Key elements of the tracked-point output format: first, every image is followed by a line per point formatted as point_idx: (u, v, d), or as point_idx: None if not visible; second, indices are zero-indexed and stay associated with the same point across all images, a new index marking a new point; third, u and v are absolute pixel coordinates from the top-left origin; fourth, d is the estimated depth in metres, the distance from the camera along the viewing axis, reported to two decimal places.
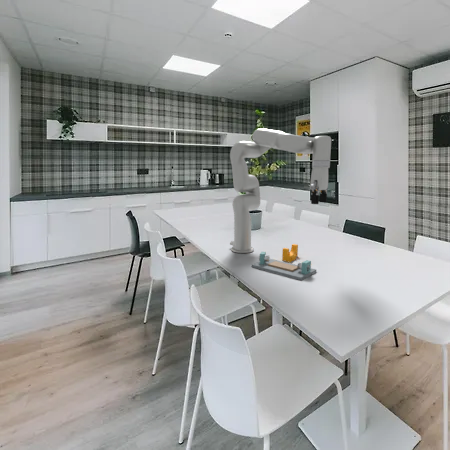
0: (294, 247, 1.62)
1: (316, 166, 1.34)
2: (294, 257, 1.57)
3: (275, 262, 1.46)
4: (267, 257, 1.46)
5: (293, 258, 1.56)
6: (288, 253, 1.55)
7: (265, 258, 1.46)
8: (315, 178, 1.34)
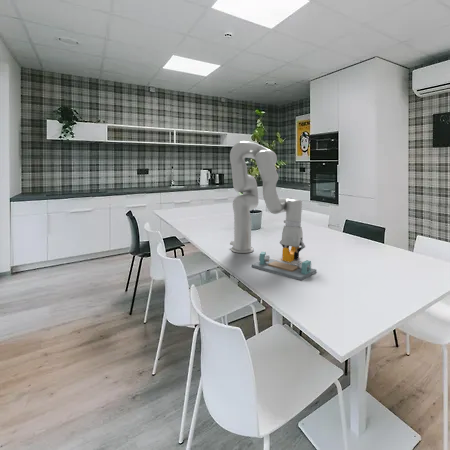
0: (294, 247, 1.62)
1: (299, 226, 1.53)
2: None
3: (275, 262, 1.46)
4: (267, 257, 1.46)
5: (293, 258, 1.56)
6: (288, 253, 1.55)
7: (265, 258, 1.46)
8: (301, 236, 1.54)
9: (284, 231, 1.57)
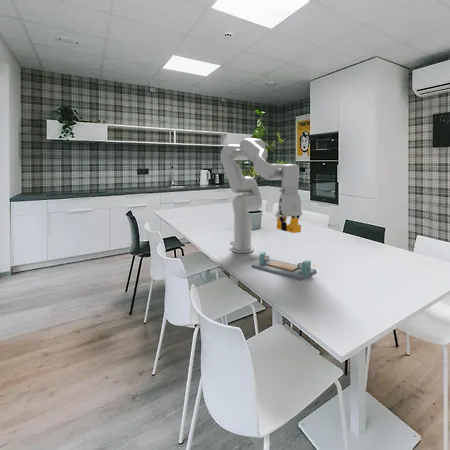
0: None
1: None
2: None
3: (275, 262, 1.46)
4: (267, 257, 1.46)
5: None
6: None
7: (265, 258, 1.46)
8: None
9: (287, 201, 1.39)
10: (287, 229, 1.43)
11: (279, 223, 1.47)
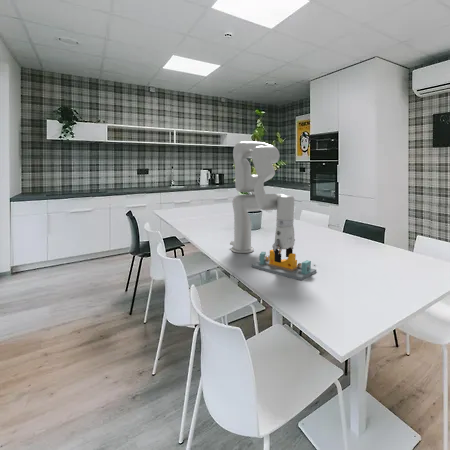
0: None
1: None
2: None
3: None
4: (267, 257, 1.46)
5: None
6: None
7: (265, 258, 1.46)
8: None
9: (285, 233, 1.35)
10: (284, 265, 1.39)
11: (272, 258, 1.42)
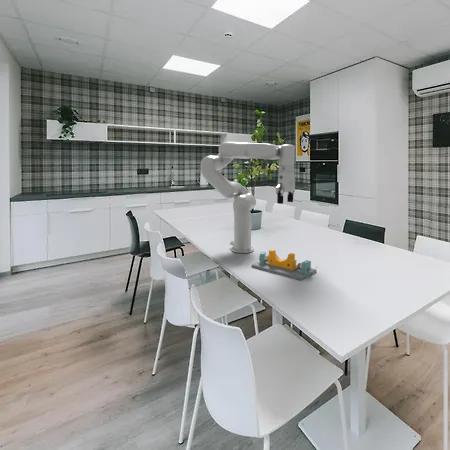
0: (274, 253, 1.43)
1: None
2: None
3: None
4: (267, 257, 1.46)
5: None
6: None
7: (265, 258, 1.46)
8: None
9: (287, 178, 1.54)
10: (283, 265, 1.39)
11: (272, 258, 1.42)
